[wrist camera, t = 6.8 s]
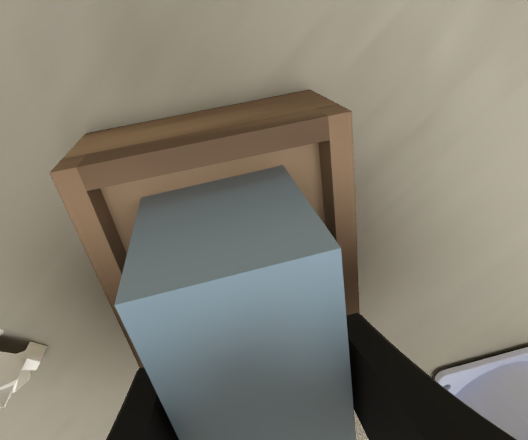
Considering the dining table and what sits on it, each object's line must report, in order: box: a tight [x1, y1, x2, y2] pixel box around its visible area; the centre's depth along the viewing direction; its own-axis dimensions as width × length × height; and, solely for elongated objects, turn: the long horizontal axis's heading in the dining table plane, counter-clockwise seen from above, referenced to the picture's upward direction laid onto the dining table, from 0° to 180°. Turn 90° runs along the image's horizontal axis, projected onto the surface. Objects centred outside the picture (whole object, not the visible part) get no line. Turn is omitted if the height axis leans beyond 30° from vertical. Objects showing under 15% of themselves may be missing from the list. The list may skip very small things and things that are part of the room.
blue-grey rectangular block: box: [114, 165, 356, 440], centre depth 10 cm, size 8×4×4 cm, turn 9°
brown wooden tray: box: [50, 90, 359, 368], centre depth 13 cm, size 11×7×4 cm, turn 9°
